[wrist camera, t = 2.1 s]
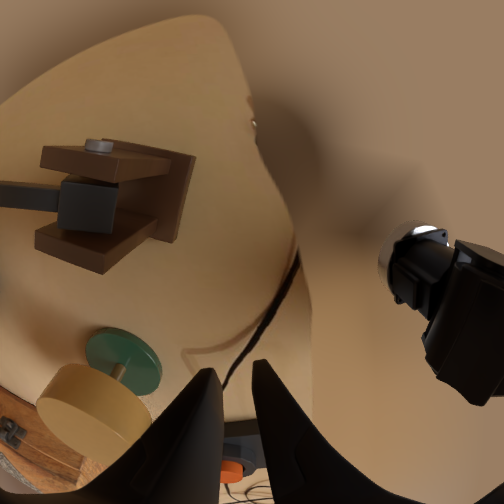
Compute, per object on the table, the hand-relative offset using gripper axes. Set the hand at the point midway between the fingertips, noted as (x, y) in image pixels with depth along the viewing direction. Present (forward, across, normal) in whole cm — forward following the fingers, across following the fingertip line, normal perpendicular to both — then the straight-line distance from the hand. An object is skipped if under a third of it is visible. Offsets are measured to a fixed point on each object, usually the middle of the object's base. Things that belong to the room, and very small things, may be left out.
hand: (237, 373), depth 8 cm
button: (+8, +8, +23) cm, 26 cm away
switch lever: (+4, +10, -9) cm, 14 cm away
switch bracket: (+12, +6, -6) cm, 15 cm away
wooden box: (+12, +44, +23) cm, 51 cm away
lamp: (+12, +14, +8) cm, 20 cm away
